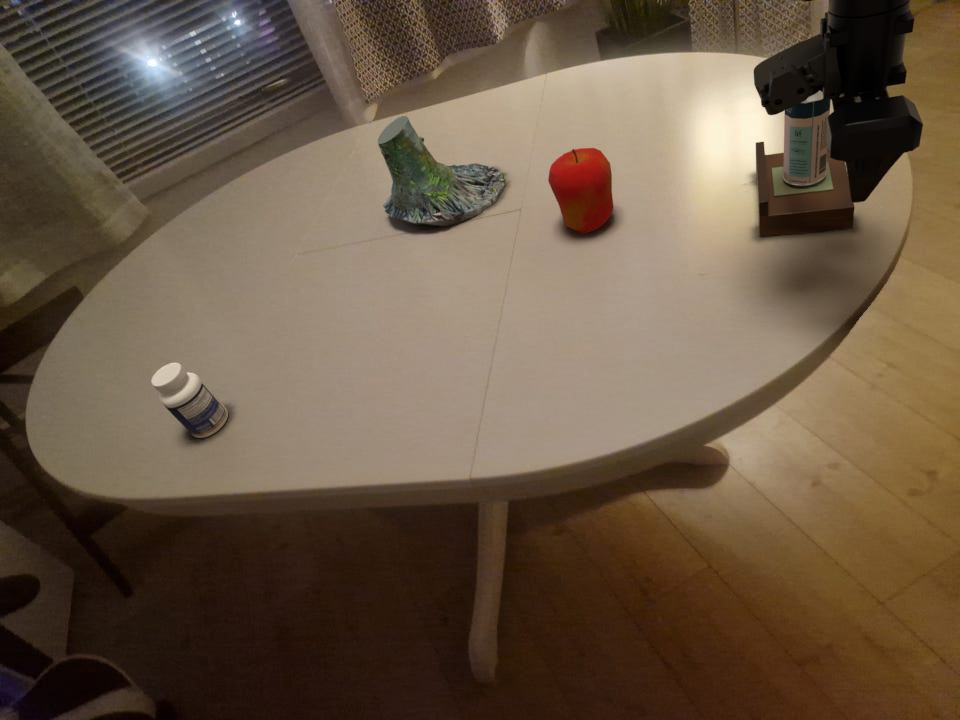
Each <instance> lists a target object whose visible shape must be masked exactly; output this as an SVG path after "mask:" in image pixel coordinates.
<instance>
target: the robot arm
mask: <svg viewBox="0 0 960 720" xmlns="http://www.w3.org/2000/svg"><path fill="white" fill-rule="evenodd" d="M793 1H796V2H797V1H798V2H812V1H813V0H793ZM910 8H911V0H828V8H827V9H828V10H827V12H824V17H822V18H820V22H819V23H820V25H819V33H818V34H816V35H814V36H812V37H810V38H808V39H805V40H801V41H799V42H796V43H794V44H792V45H791V46H789V47H787V48H785V49H783V50H781V51H779V52H778V53H775V54H773V55H772V56H769V57H768V58H766V59H764V60H762V61H761V62H759V63H758V64H756V66H754V68H753V83H754V87H755V91H756V92H757V94H758V96H759V98H760V104H761V107H762V108H764V109H765V111H766V114H767V115H768V116H775V115H779V114H781V113H783V112H785V110H787V109H789V108H791V107H793V106H795V105H797V104H799V103H802V102H804V101H806V100H807V98H808V97H810V96H812V95H814V94H816V93H817V92H819V91H821V92H822V93H823V99H828V98H830V99H831V103H832V109H833V111H832V112H830V115H829V116H828V117H827V145H828V150H829V155H830V158H832V159H834V160H838V161H844V162H845V167H846V171H847V175H848V182H849V188H850V195H851V201H852V202H854V204H855V203H864V202H866V201H867V199H869V197H870V196H871V194H872V193H873V192H874V190H875V189H877V187H878V185H879V184H880V182H881V181H882V180H883V179H884V178H885V176H886V175H887V173H889V171H890V170H891V168H893V166H894V165H895V164H896V162H897V161H898V160H899V159H900V158H901V157H902V156H903V155H904V154H906V153H909V152H913V151H915V150H916V149H918V148H919V147H920V145H921V139H922V133H923V127H924V124H923V121H922V118H921V116H920V113H919V111H918V108H917V106H916V104H915V103H914V102H913V101H912V100H910V99H909V98H908V97H906V96H905V95H903V94H902V95H894V96H890V95H889V92H888V89H887V88H888V87H891V86H898V85H905V84H906V80H907V74H908V73H907V72H908V70H907V68H906V66H905V64H904V61H903V58H904V51H905V44H906V37H907V34H912V33H913V31H914V26H915V25H914V23H915V17H914V14H913V13H912V11H911V9H910Z"/></svg>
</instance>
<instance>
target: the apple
mask: <svg viewBox="0 0 960 720" xmlns="http://www.w3.org/2000/svg"><path fill="white" fill-rule="evenodd" d="M612 178H613V174H612V167H611V163H610V161H609V160H608V158H607V157H606V156H605V154H604V153H603V152H602V151H601V150H600V149H597V148H595V147H581V148H576V149H575V148H572V149H571V150H570V151H567V152H565V153H563V154H562V155H560V156H558V157H557V158H556V159H555V160H554V161H553V162H552V163H551V165H550V167H549V170H548V177H547V181H548V184H549V186H550V189H551V191H552V193H553V195H554V197H555V200H556V202H557V205H558V206H559V207H558V208H559V211H560V214H561V216H562V220H563V222H564V224H565V226H566V227H568V228H570V229H572V230H574V231H576V232H578V233H583V234H587V233H591V232H593V231H595V230H598V229H600V228H601V227H602V226H603V225H604V224H605V223H606V222H607V221H608V219H610V217H611V216H612V215H613V212H614V200H613V199H614V198H613V182H612V181H613V179H612Z"/></svg>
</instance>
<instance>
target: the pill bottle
mask: <svg viewBox="0 0 960 720" xmlns="http://www.w3.org/2000/svg"><path fill="white" fill-rule="evenodd" d="M150 381H151V385H152V386H153V387H154V389H156V391H157V392H158V393H159V401H160V403H161V404H162V406H164V407H165V408H166V410H167V411H168V412H169V413H170V414H171V415H172V416H173V417H174V418H175V419H176V420H177V422H179V423H180V424H181V425H182V426H183V427H184V428H185V429H186V430H187V431H188V432H189V433H190V434H191V435H192V436H193V437H195V438H198V439H204V438H208V437H210V436H212V435H214V434H216V433H217V432H218V431H219V430H221V429H222V428H223V426H224V425H225V424H226V422H227V421H228V417H229V410H228V409H227V408H226V406H225V405H224V404H223V402H222V401H221V400H220V399H219V398H218V397H217V396H216V394H215V393H214V392H213V391H212V390H211V389H210V388H209V387H208V385H206V383H205V382H204V381H203V379H201V378H200V376H199V375H197V374H196V373H194V372H188V371H187V370H186V369H185V368H184V367H183V366H182V365H181V364H180V363H179V362H170V363H167V364H165V365H163V366H162V367H160V368H159V369H158V370H157V371H155V373H154V374H153V376H152V377H151V379H150Z"/></svg>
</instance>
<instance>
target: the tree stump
mask: <svg viewBox="0 0 960 720" xmlns="http://www.w3.org/2000/svg"><path fill="white" fill-rule="evenodd" d="M424 142H425V137H422V136H421V135H418V133H417V131H416V130H415V128H414V126H413V125H412V123H411V121H410V119H409V117H408V116H406V115H402V116H399V117H397V118H395V119H394V120H393V121H391V122H390V123H389V124H387V125H386V127H385V128H384V129H383V130H382V131H381V133H380V134H379V136H378V139H377V144H378V147H379V150H380V153H381V155H382V157H383V159H384V162H385V164H386V167H387V168H388V172H389V174H390V177H391V181H392V185H391V188H390V189H391V191H390V194H391V195H390V196H389V197H388V198H386V200H384V202H383V204H382V207H383V208H384V209H385V210H384V212H385V213H386V214H387V215H389V216H390V217H391V218H392V219H398V220H400V221H403V222H406V223H409V224H414V225H417V226H418V225H419V226H431V227H449V226H453V225H457V224H460V223H462V222H464V221H467V220H469V219H472V218H474V217H476V216H478V215H480V214H481V213H482V212H483V211H485V210H486V209H487V208H489V207H491V206H492V205H494V204H495V203H496V202H497V201H498V199H499V198H500V196H501V195H502V193H503V191H504V189H505V188H506V181H505V174H504V171H500V170H499V169H498V168H495V167H494V166H490V165H489V166H488V165H484V164H480V163H469V164H467V165H466V164H463V165H462V164H461V165H460V164H459V165H457V164H452V165H446V164H445V163H443V162H438V161H437V160H436V159H435V158H434V156H433V155H432V153H431V152H430V151H429V150H428V147H427V146H426V144H425V143H424Z"/></svg>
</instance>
